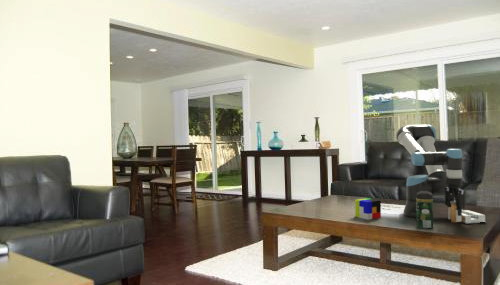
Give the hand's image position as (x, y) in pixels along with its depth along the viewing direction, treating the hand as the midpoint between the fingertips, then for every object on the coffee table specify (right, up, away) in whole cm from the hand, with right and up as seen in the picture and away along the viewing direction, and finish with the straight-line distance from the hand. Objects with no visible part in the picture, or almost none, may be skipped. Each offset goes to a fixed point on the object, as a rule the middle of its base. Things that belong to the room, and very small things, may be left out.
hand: (454, 220), depth 213 cm
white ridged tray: (+8, -1, +3) cm, 9 cm away
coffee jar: (-21, -2, -10) cm, 23 cm away
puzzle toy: (-42, -2, +16) cm, 45 cm away
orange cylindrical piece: (0, -1, 0) cm, 1 cm away
